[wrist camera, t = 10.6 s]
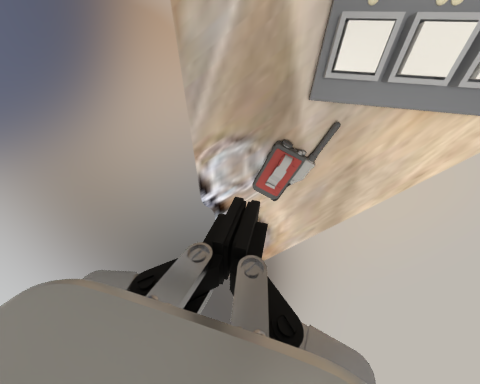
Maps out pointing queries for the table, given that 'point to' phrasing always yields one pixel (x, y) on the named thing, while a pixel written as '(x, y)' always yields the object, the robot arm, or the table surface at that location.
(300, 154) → the walkie-talkie
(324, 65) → the button panel
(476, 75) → the button
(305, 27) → the table surface
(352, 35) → the button
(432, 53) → the button
